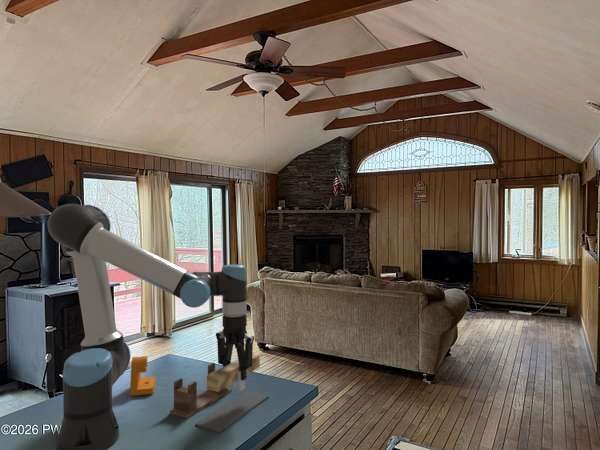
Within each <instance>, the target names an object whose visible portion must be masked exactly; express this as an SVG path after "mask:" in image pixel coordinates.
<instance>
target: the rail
mask: <svg viewBox="0 0 600 450" xmlns="http://www.w3.org/2000/svg"><path fill="white" fill-rule="evenodd" d="M260 357H261V355H260V354H254V353H252V367H250V368H248V369H247V375H249V374H251V373H252V372H254V371H255V370H257V369H259V368H260V366H261V365H260V363H261V361H260V359H261V358H260ZM222 367H223V366H222ZM222 367H221V368H219V369H216V370H217V371H215V372H213V373H211V374H209V375H208V374H207V375H206V390H207V389H208V390H212V391H216V392H218V391H220V390H222V389H223V388H225V387H227V386H228V385H230V384H232V383H235V382H238V369H240V367H239V361H238V359H237V360H235V361H233V362H231V363H230V364H228V365H227V366H225V367H223V368H222Z"/></svg>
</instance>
